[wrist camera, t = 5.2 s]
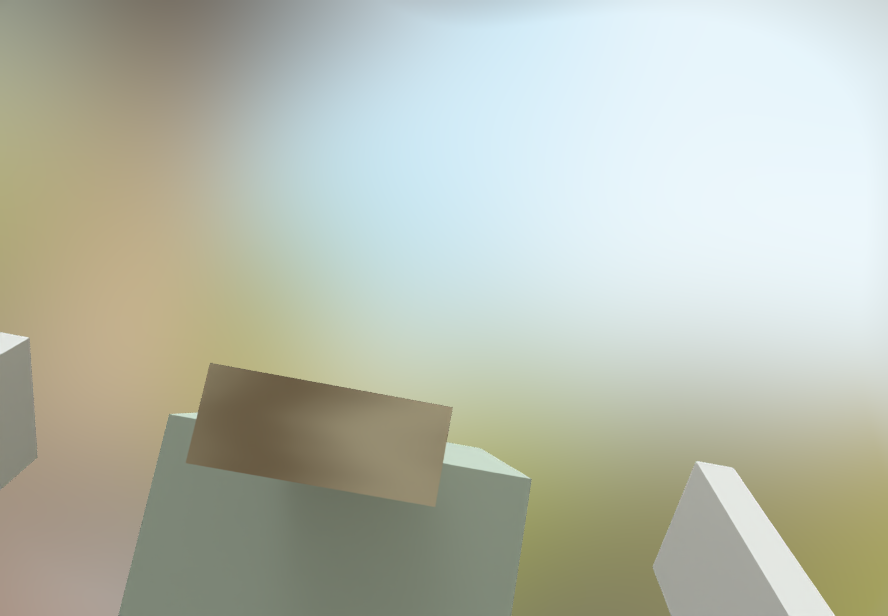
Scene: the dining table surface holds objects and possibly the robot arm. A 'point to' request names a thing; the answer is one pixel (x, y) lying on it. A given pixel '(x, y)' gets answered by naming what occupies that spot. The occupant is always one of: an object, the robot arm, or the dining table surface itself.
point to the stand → (324, 542)
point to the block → (320, 435)
